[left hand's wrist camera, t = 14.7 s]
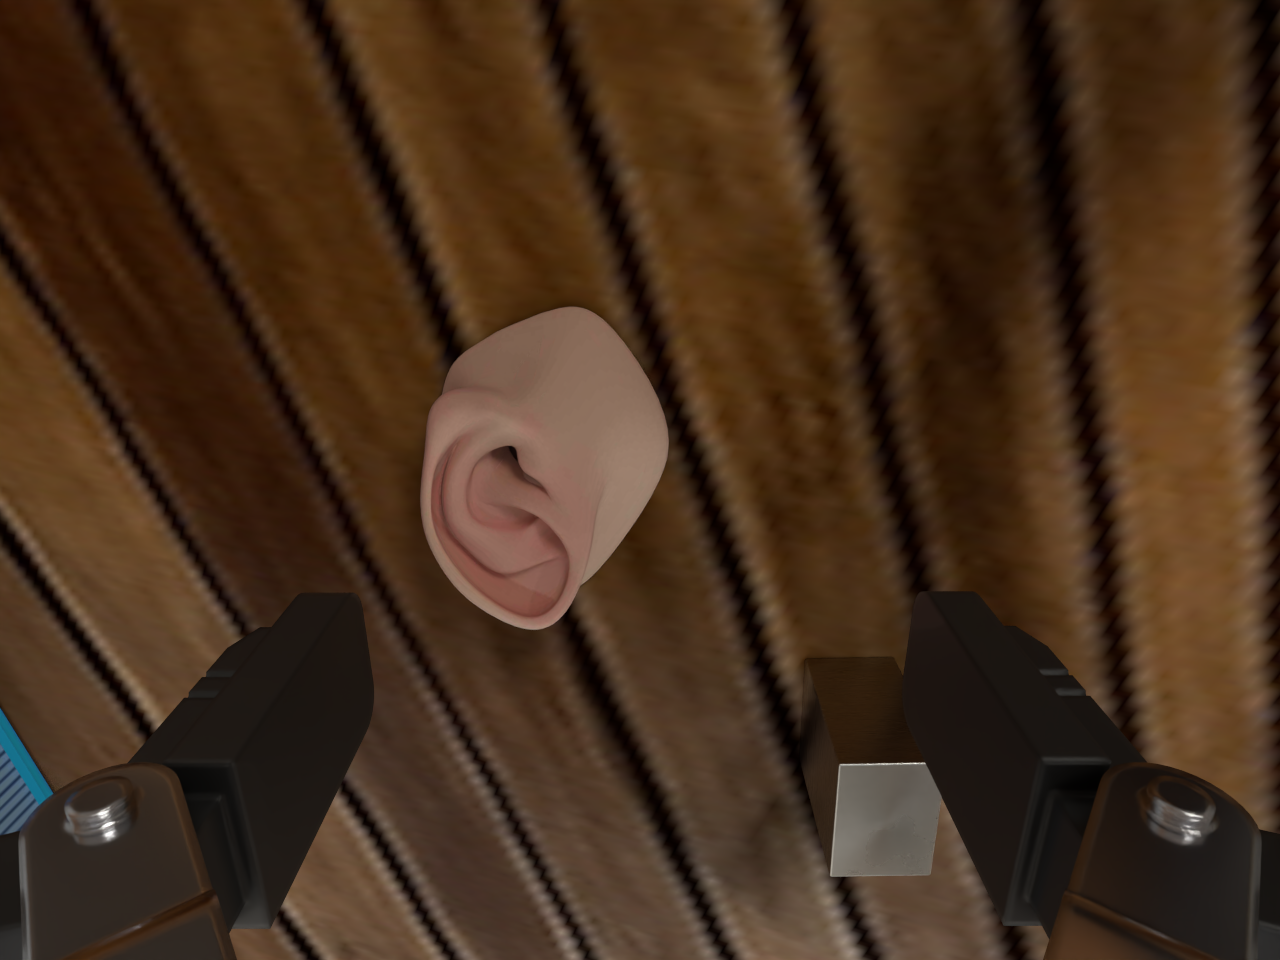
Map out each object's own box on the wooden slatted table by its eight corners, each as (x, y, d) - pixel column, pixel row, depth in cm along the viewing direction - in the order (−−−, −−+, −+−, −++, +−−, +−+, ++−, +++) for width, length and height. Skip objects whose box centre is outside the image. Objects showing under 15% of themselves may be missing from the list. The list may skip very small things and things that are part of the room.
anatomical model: (524, 272, 30) (741, 463, 33) (537, 260, 34) (732, 432, 36) (328, 511, 34) (538, 664, 36) (360, 477, 37) (548, 618, 40)
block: (798, 757, 43) (829, 877, 36) (804, 658, 41) (838, 764, 34) (883, 756, 43) (931, 876, 36) (893, 656, 41) (947, 763, 34)
